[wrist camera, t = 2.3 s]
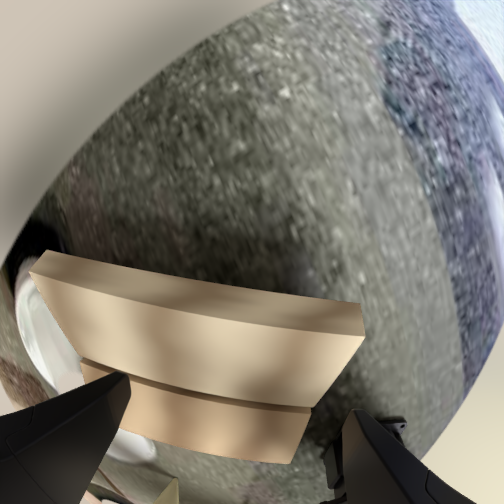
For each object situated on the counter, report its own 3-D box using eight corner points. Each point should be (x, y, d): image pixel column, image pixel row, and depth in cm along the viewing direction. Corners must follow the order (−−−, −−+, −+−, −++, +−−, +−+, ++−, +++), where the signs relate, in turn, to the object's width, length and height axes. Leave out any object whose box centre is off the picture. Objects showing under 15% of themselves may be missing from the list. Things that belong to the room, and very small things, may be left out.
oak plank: (360, 303, 13) (365, 336, 11) (314, 382, 19) (313, 407, 17) (46, 249, 14) (28, 271, 12) (88, 335, 19) (78, 355, 18)
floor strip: (310, 391, 19) (313, 409, 17) (289, 447, 21) (289, 463, 19) (91, 345, 20) (78, 357, 18) (104, 405, 22) (95, 418, 20)
